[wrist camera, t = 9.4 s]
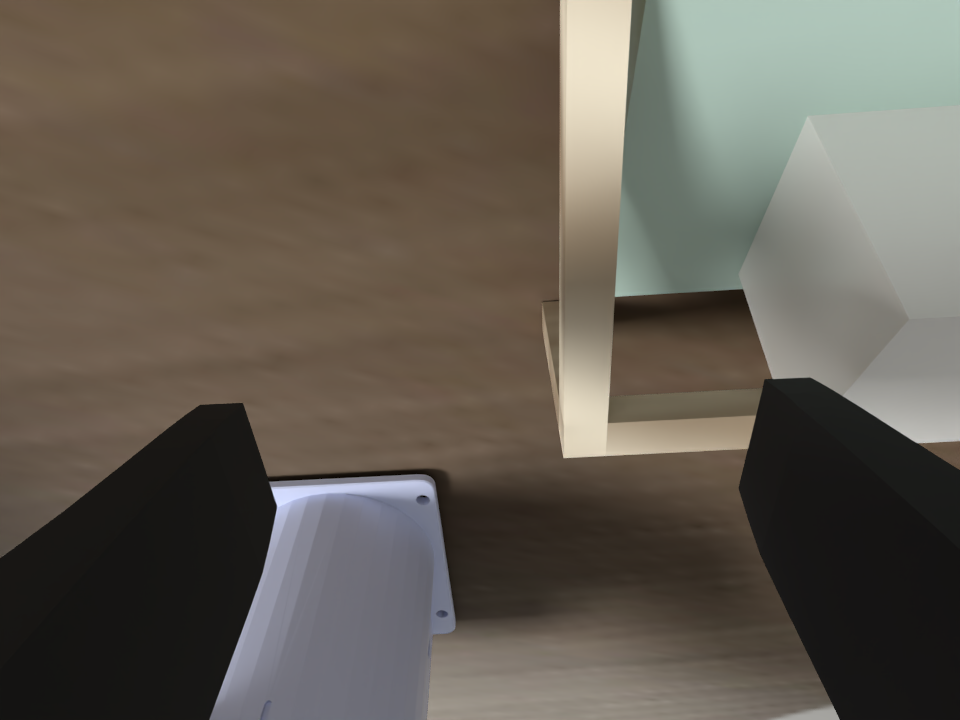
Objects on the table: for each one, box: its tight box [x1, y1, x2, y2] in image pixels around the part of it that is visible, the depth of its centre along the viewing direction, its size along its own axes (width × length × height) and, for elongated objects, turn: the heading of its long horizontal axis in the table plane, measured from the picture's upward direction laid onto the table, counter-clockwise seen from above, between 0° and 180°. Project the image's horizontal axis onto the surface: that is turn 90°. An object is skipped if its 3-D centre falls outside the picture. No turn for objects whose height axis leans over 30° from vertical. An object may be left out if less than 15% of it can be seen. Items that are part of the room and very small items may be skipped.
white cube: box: [738, 105, 960, 443], centre depth 13 cm, size 5×5×5 cm
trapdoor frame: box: [542, 0, 763, 458], centre depth 14 cm, size 12×15×6 cm
